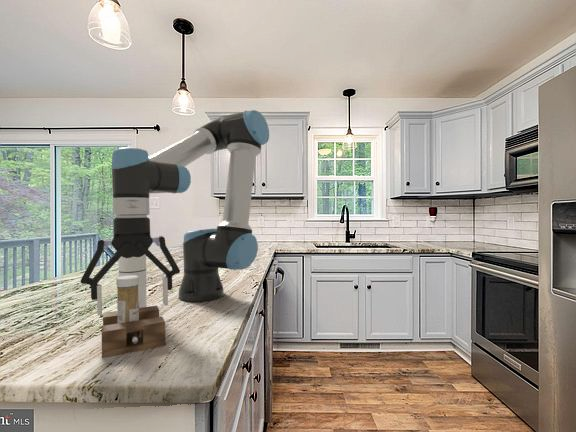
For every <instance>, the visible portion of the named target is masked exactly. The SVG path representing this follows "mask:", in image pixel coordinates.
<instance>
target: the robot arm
mask: <svg viewBox="0 0 576 432" xmlns="http://www.w3.org/2000/svg"><path fill="white" fill-rule="evenodd" d="M269 139H270V129H269V125H268V122H267V120H266V118H265V117H264V115H263V114H262V113H261V112H260V111H258V110H255V109H254V110H253V109H251V110H244V111H241V112H236V113H231V114H226V115H221V116H219V117H217V118H214V119H211V120H210V121H208V122H207V123H205V124H204V125H203V124H202V126H200V127H198V128H196V129H195V130H194V131H193V134H191V135H189V136H188V137H185V138H183V139H181V140H179V141H178V142H176V143H173V144H172V145H170V146H168V147H166V148H165V149H164V148H163V149H162V150H160V151H158V152H157V153H154V154H153V155H150V156H149V152H148V151H147V150H145V149H143V148H138V147H118V148H116V149H113V151H112V153H111V154H112V157H111V167H110V169H111V179H112V180H111V181H112V214H113V216H114V217H115V218H114V219H113V221H112V222H113V238H112V239H111V240H109V239H104V238H100V239H98V241H97V244H96V245H97V246H96V251H95V252H94V254H93V257H92V258H91V260H90V262H89V264H88V266H87V267H86V270H85V271H84V273H83V274H82V277H81V279H80V284H83V285H84V284H85V285H89V286H90V299H91V301H97V304H96V305H97V306H96V307H97V317H99V316H103V300H102V299H103V295H102V294H103V293H102V292H103V291H102V290H103V289H102V282H100V281H101V280H102V279H103V277H105V275H106V274H107V273H108V272H109V271H110V269H111V268H112V267H113V266H114V265H115V264H116V263H117V262H118V259H119V258H120V257H121V256H122V257H124V258H131V257H141V256H143V255H144V254H145V255H146V258H148V259H149V260H150V261H151V262H152V263H153V264H154V265H155V266H156V267H157V268H158V269H159V270H160V271H161V272H163V274H164V276H162V304H163V305H164V306H169V291H172V289H173V276H175V275H178V274H180V272H181V270H180V268H179V266H178V264H177V262H176V261H175V259H174V257H173V256H172V254H171V252H170V250H169V249H168V247H167V245H166V238H165V237H164V236H162V235H159V236H157V237H152V236H151V219H150V217H148V216H149V215H150V213H151V212H150V195H151V194H166V193H167V194H169V193H171V194H182V193H185V192H186V191H188V189H189V188H190V186H191V182H192V181H191V180H192V179H191V173H190V171H189V169H188V168H187V166H188V165H190V164H191V163H193V162H195V161H196V160H199V159H200V158H201V157H203V156H205V155H211V154H212V155H213V153H215V152H217V151H222V150H227V151H229V153H230V154H229V155H230V157H229V164H228V172H227V173H228V174H227V181H226V187H225V188H226V190H225V198H224V199H225V200H224V205H223V213H222V220H221V222H220V223H219V224H217V226H216V228H206V229H197V230H189V231H186V232H185V233H184V234H183V242H182V247H183V249H182V250H183V255H182V256H183V276H182V280H181V282H180V283H181V284H180V286H179V289H178V299H179V300H181V301H185V302H205V301H212V300H217V299H220V298H222V297H223V296H224V286H223V283H222V280H221V278H220V274H219V269H224V270H225V269H227V270H231V271H233V270H234V271H236V270H238V271H239V270H241V271H242V270H245V269H248V268H249V267H250V266H251V265H252V264H253V263H254V262H255V259H256V258H257V254H258V249H259V245H258V242H257V240H258V239H257V237H256V236H255V235H254V234H253V228H252V227H251V226H250V224H249V220H250V211H251V203H252V195H253V184H254V174H255V164H256V157H257V156H259V155H260V154H261V150H262V146H264V145H266V144H267V143H268V142H269ZM152 244H155V246H157V247H159V249H160V250H161V252H162V254H163V256H164V257H165V259H166V261H167V262H168V264H169V266H170V268H171V269H169V268H168V267H166V266H165V265H164V264H163V263H162V262H161V261H160V260H159V259H158V258H157V257H156V256H155V255H154V254H153V253H152V252H151V251H150V250H149V248H151V246H152ZM109 246H112V248H113V249H114V250H115V252H114V253H113V254H112V256H111V257H110V258H109V259H108V261H107V262H106V263H105V264H104V265H103V266H102V267H101V268H100V269H99V270H98V272H97V273H96V274H95V275H94V276H93V277H91V275H92V273H93V272H94V269H95V267H96V266H97V264H98V262H99V260H100V258H101V256H102V255H103V252H104V250H105V251H106V250H108V248H109Z"/></svg>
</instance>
